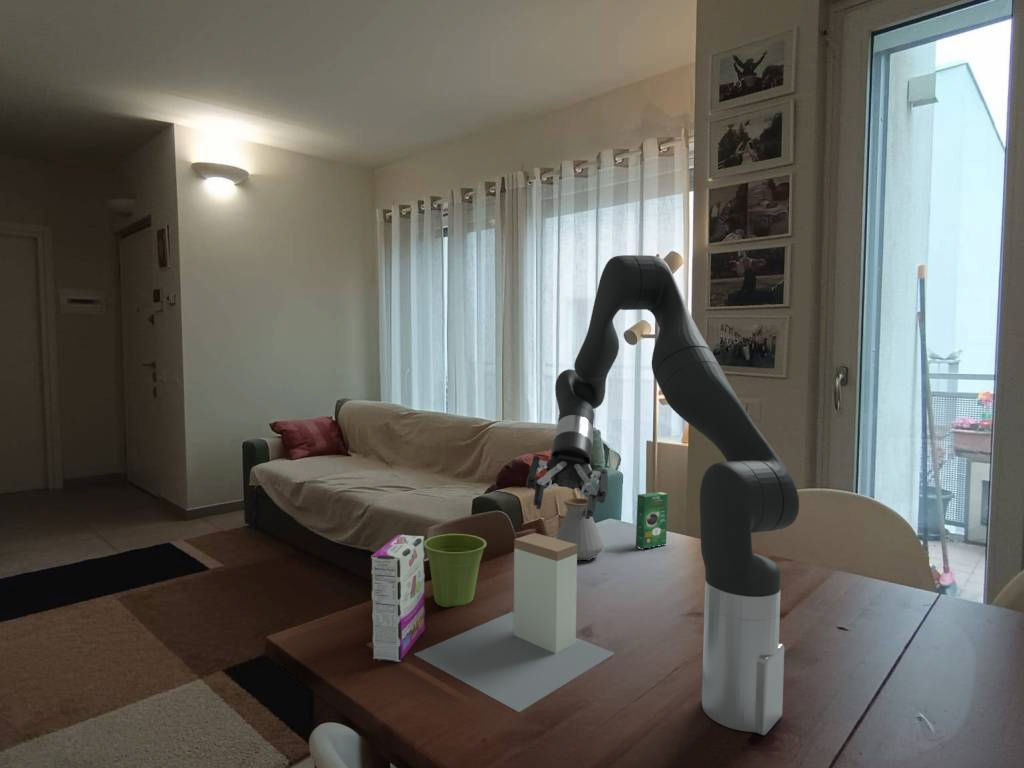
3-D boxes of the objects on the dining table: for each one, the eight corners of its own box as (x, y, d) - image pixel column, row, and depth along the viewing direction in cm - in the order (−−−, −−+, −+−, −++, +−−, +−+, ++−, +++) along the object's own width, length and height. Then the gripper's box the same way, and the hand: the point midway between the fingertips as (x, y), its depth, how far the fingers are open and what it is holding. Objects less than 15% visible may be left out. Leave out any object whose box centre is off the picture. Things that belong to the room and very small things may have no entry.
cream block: (575, 642, 99) (577, 544, 99) (555, 653, 96) (557, 551, 95) (533, 625, 106) (534, 532, 105) (513, 635, 102) (514, 539, 101)
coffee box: (658, 542, 155) (660, 490, 154) (667, 545, 153) (668, 492, 152) (634, 547, 151) (635, 494, 150) (643, 550, 148) (644, 496, 148)
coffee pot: (551, 547, 150) (552, 486, 149) (599, 548, 150) (600, 487, 149) (558, 580, 128) (559, 508, 128) (614, 580, 128) (615, 509, 128)
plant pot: (471, 618, 110) (472, 555, 109) (411, 608, 113) (412, 548, 113) (495, 593, 121) (495, 536, 120) (439, 585, 125) (440, 530, 124)
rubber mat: (615, 657, 96) (615, 653, 96) (518, 716, 80) (518, 712, 80) (511, 614, 111) (511, 611, 111) (413, 658, 95) (413, 654, 95)
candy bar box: (397, 628, 105) (397, 533, 104) (425, 631, 104) (426, 535, 103) (369, 660, 94) (369, 554, 93) (400, 664, 93) (400, 556, 92)
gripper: (538, 423, 116) (524, 489, 104) (613, 437, 115) (608, 505, 103) (533, 450, 121) (520, 516, 109) (605, 464, 120) (600, 532, 108)
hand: (563, 511), depth 106 cm, fingers open, 8 cm apart
